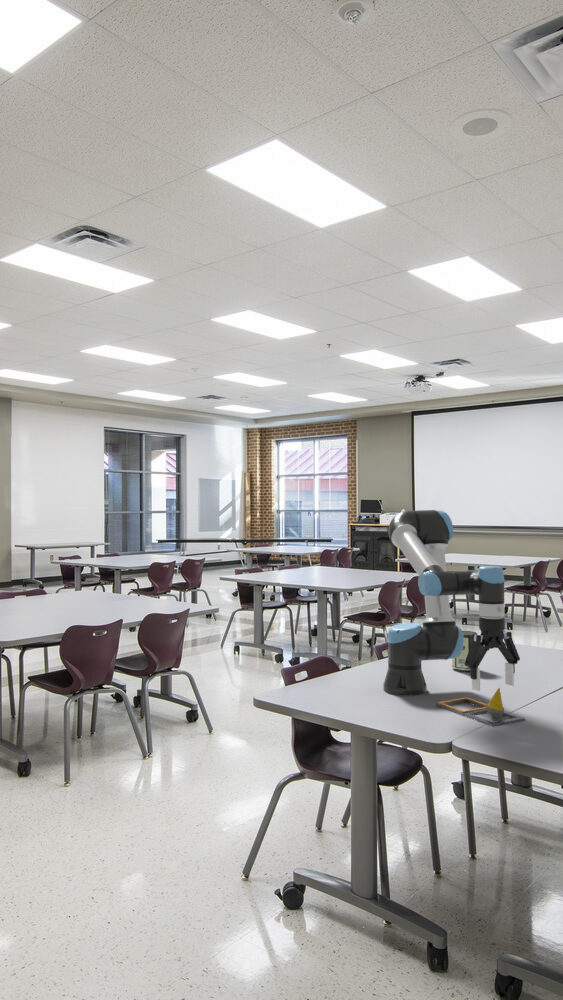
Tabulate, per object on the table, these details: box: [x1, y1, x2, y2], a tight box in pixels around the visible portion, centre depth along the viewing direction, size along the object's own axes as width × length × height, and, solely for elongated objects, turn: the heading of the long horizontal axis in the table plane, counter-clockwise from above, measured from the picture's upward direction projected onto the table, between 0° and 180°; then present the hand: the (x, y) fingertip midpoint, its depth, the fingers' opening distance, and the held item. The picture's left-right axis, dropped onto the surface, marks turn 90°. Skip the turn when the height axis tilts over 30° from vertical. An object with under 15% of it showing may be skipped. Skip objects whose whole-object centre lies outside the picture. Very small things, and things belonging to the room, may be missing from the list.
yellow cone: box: [485, 687, 505, 719], centre depth 205 cm, size 5×5×10 cm
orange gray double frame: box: [435, 696, 526, 727], centre depth 211 cm, size 25×13×1 cm, turn 27°
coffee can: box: [451, 630, 479, 671], centre depth 273 cm, size 10×10×14 cm
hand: (493, 687), depth 206 cm, fingers open, 13 cm apart
